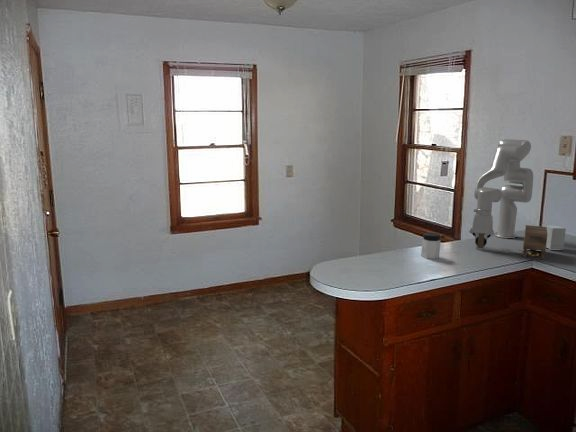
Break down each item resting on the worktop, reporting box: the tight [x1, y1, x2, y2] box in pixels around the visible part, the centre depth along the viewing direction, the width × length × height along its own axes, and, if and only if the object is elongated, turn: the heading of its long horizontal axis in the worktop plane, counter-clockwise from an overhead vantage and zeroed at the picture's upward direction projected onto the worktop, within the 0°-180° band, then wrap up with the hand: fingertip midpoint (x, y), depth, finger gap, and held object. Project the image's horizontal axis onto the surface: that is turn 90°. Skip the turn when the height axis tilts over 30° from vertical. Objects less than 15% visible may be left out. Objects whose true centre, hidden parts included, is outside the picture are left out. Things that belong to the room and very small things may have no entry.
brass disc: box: [527, 251, 540, 257], centre depth 257 cm, size 5×5×2 cm
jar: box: [420, 231, 441, 260], centre depth 250 cm, size 9×8×12 cm
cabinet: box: [522, 224, 548, 260], centre depth 258 cm, size 19×10×14 cm, turn 154°
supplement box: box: [545, 225, 567, 251], centre depth 269 cm, size 7×7×13 cm
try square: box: [475, 233, 523, 256], centre depth 263 cm, size 5×24×10 cm, turn 64°
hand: (480, 245), depth 268 cm, fingers closed on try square, 3 cm apart
